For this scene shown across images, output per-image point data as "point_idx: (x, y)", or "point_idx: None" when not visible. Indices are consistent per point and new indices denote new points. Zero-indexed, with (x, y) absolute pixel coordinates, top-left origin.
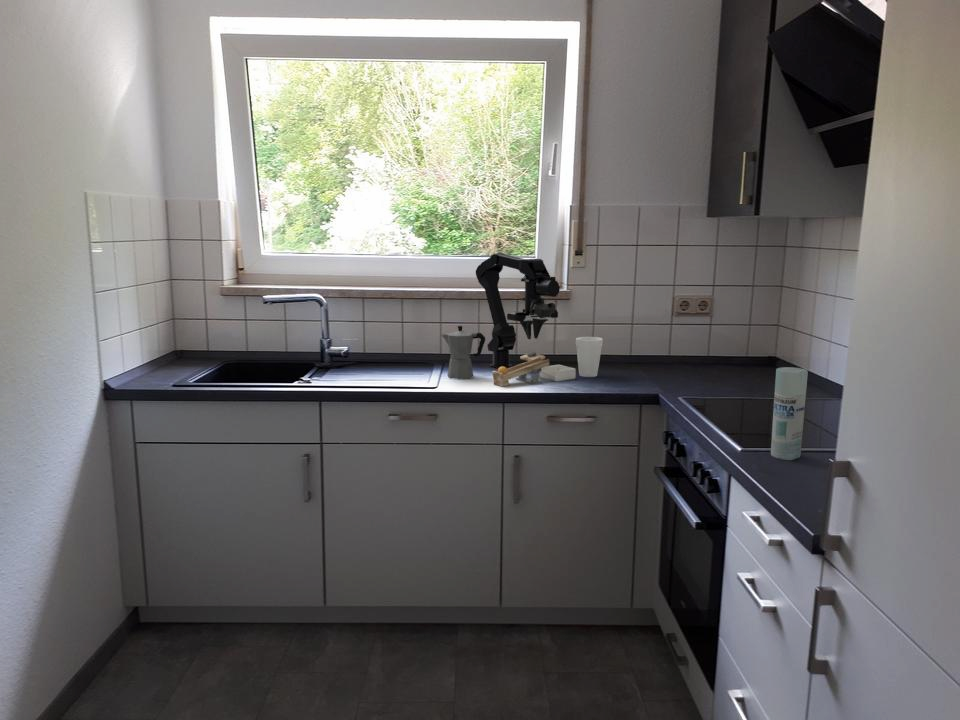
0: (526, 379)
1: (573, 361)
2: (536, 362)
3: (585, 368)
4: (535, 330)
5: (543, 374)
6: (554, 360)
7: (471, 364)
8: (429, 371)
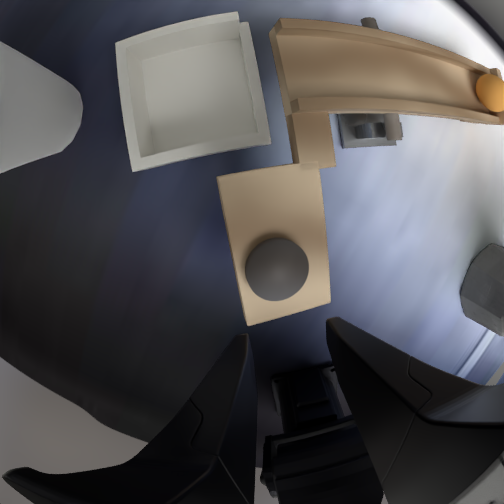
0: None
1: (41, 361)
2: (332, 92)
3: (59, 78)
4: (249, 417)
5: (265, 110)
6: (91, 398)
7: (500, 281)
8: (481, 360)
